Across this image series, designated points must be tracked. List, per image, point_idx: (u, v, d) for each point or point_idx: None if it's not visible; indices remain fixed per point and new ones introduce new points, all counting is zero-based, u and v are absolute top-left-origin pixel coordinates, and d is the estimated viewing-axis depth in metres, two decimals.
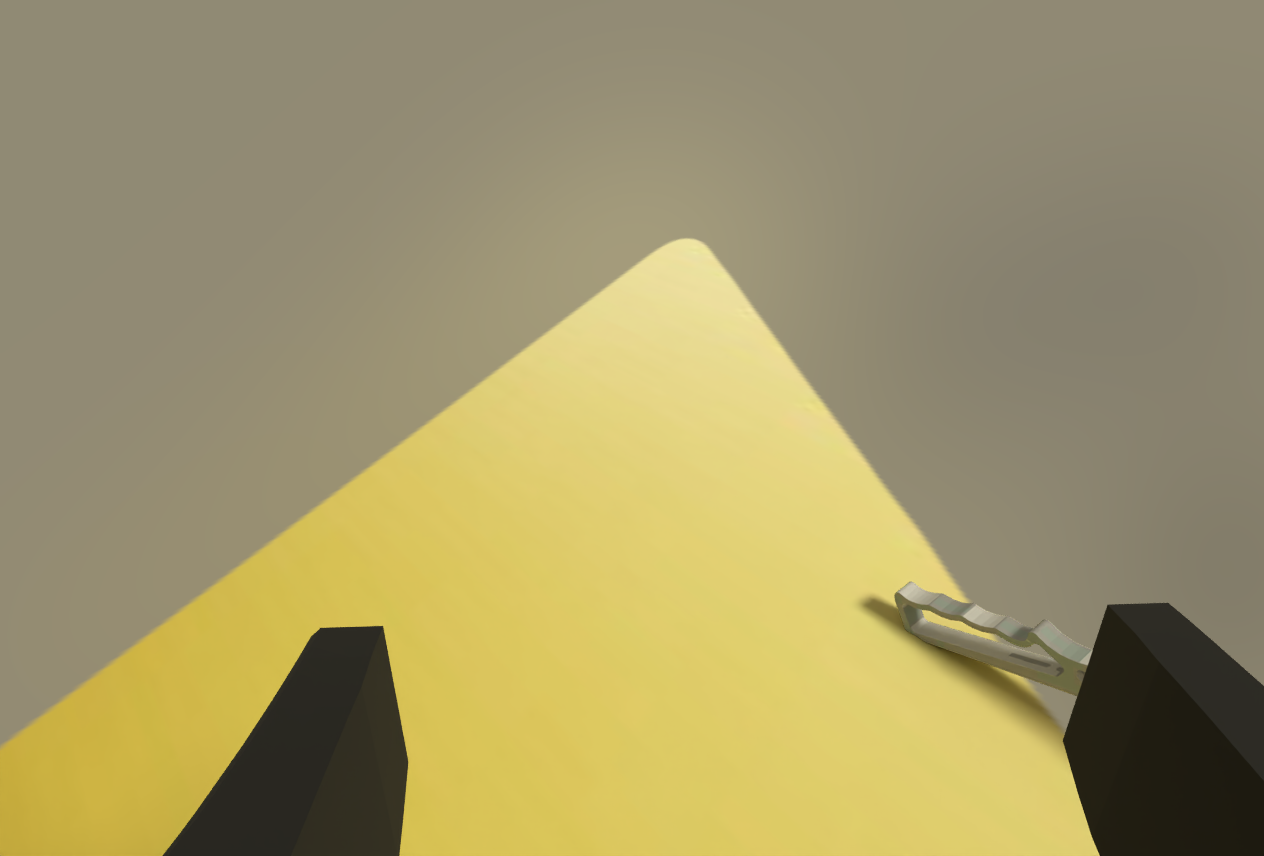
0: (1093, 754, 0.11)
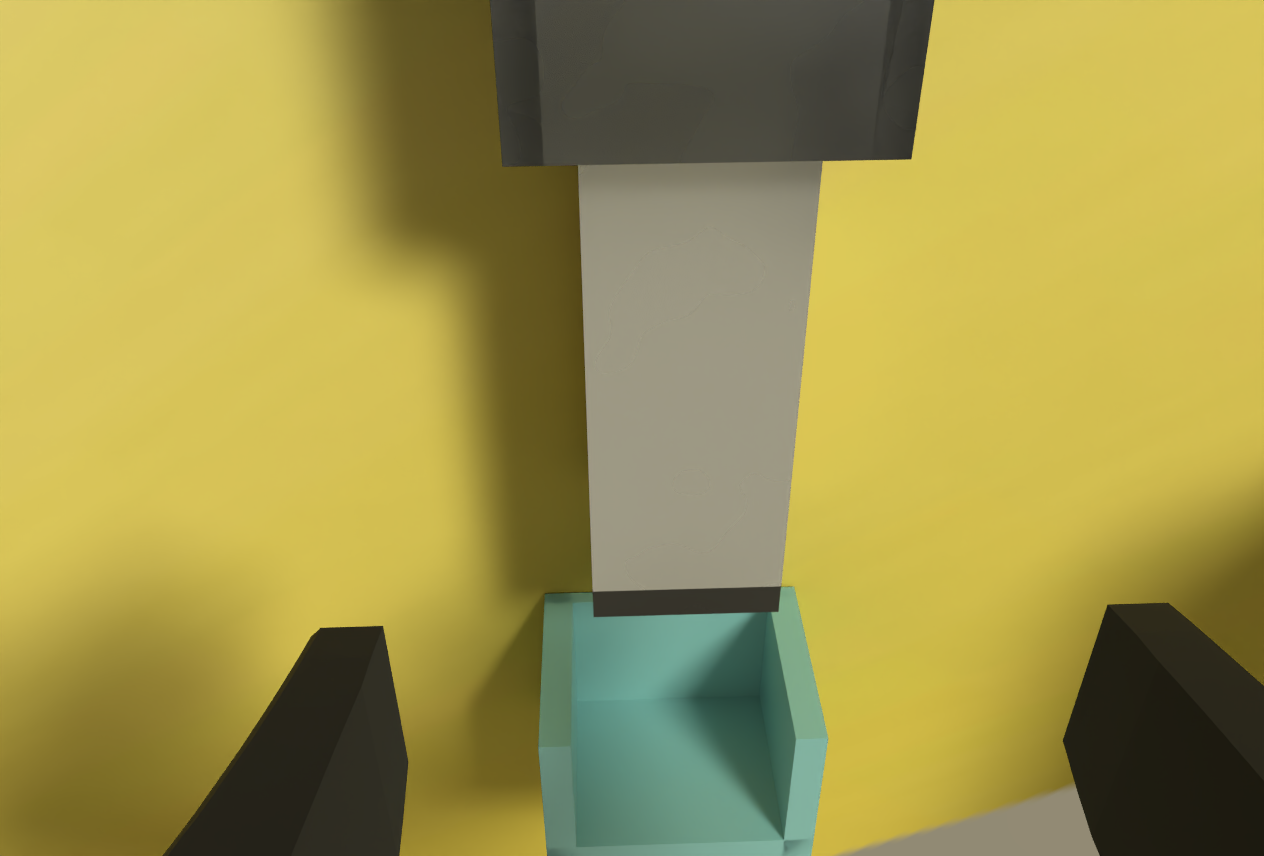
0: (1093, 754, 0.11)
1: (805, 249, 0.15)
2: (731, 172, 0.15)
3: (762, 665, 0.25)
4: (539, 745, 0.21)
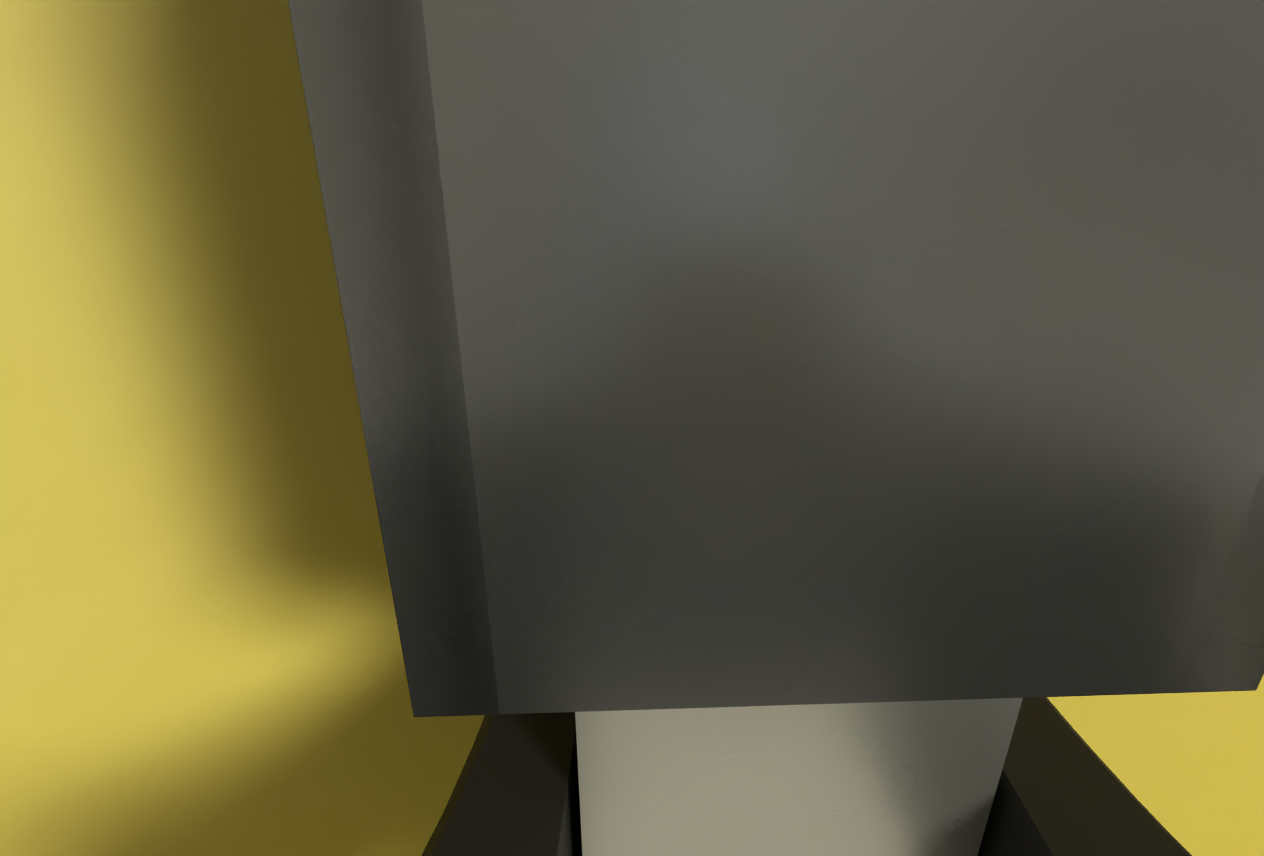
0: None
1: (993, 751, 0.08)
2: None
3: None
4: None
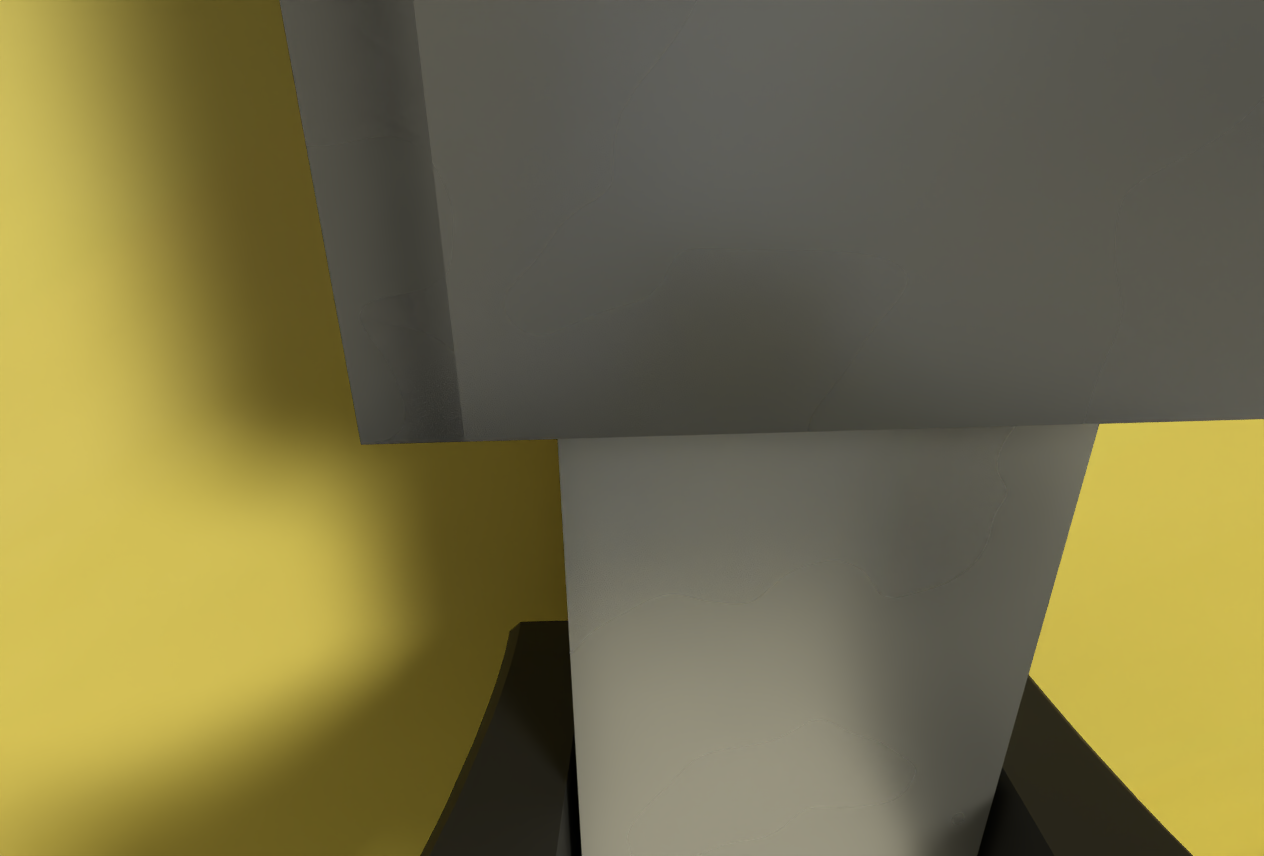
0: None
1: (995, 745, 0.08)
2: (864, 641, 0.08)
3: None
4: None
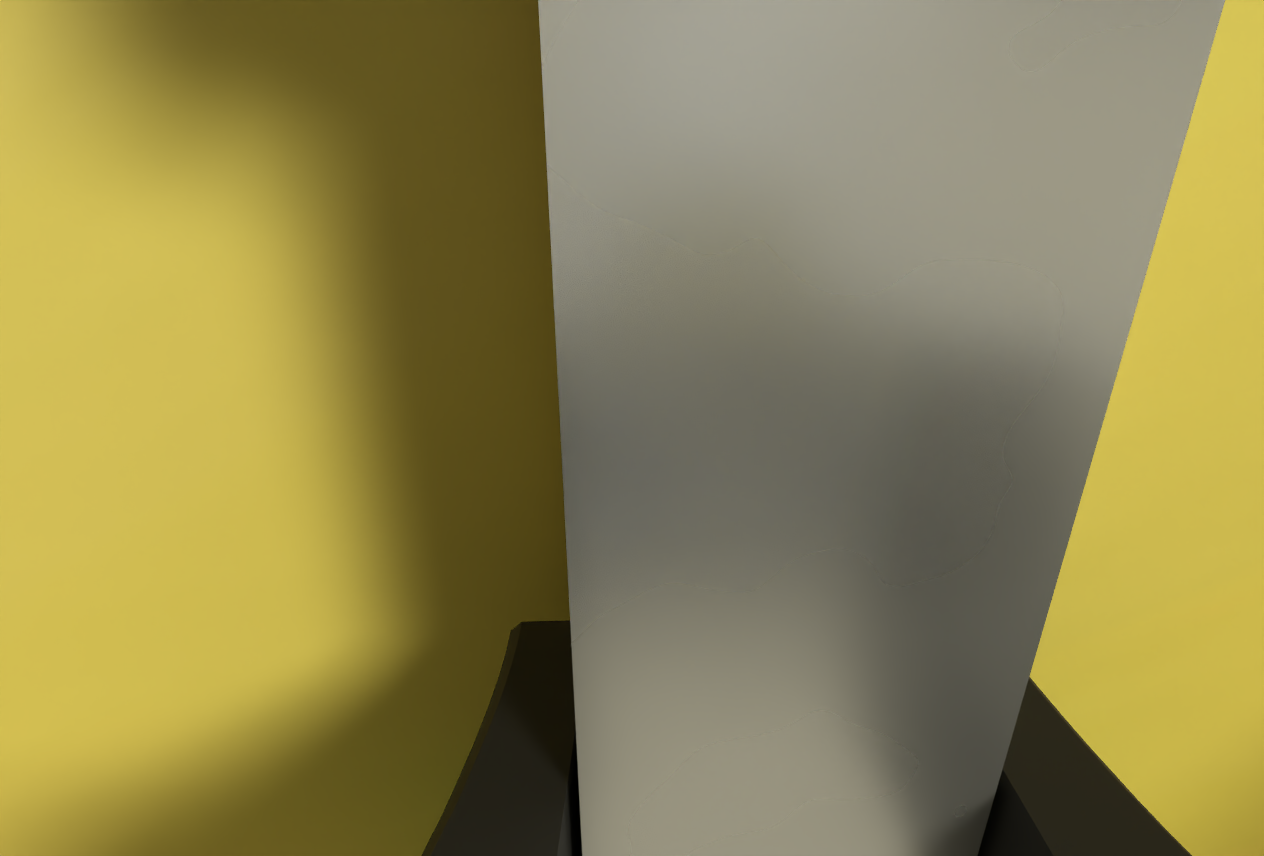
0: None
1: (997, 736, 0.08)
2: (869, 630, 0.07)
3: None
4: None
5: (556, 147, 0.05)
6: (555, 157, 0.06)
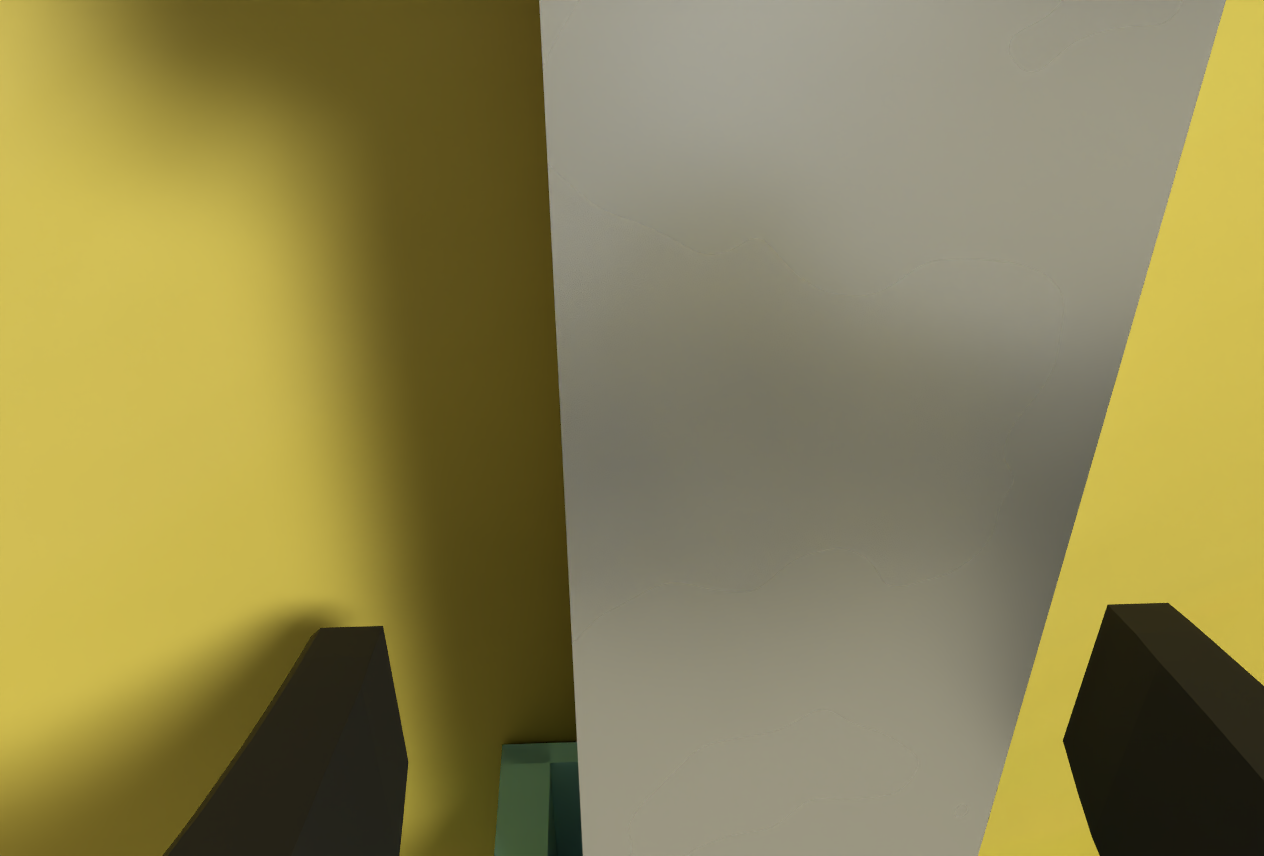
0: (1093, 754, 0.11)
1: (997, 737, 0.08)
2: (869, 630, 0.07)
3: None
4: None
5: (557, 147, 0.05)
6: (556, 157, 0.06)
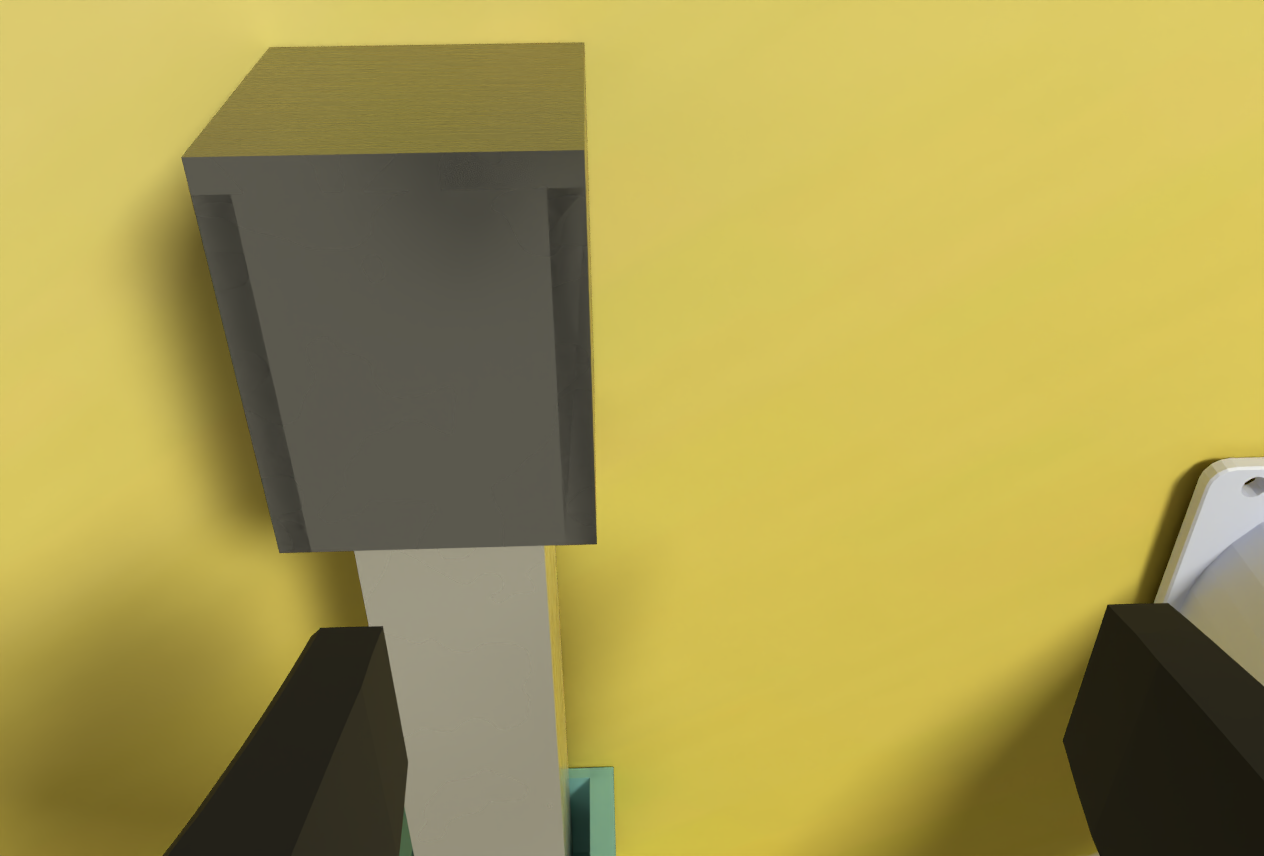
0: (1093, 754, 0.11)
1: (554, 779, 0.22)
2: (495, 743, 0.22)
3: None
4: None
5: (370, 619, 0.20)
6: (370, 621, 0.20)
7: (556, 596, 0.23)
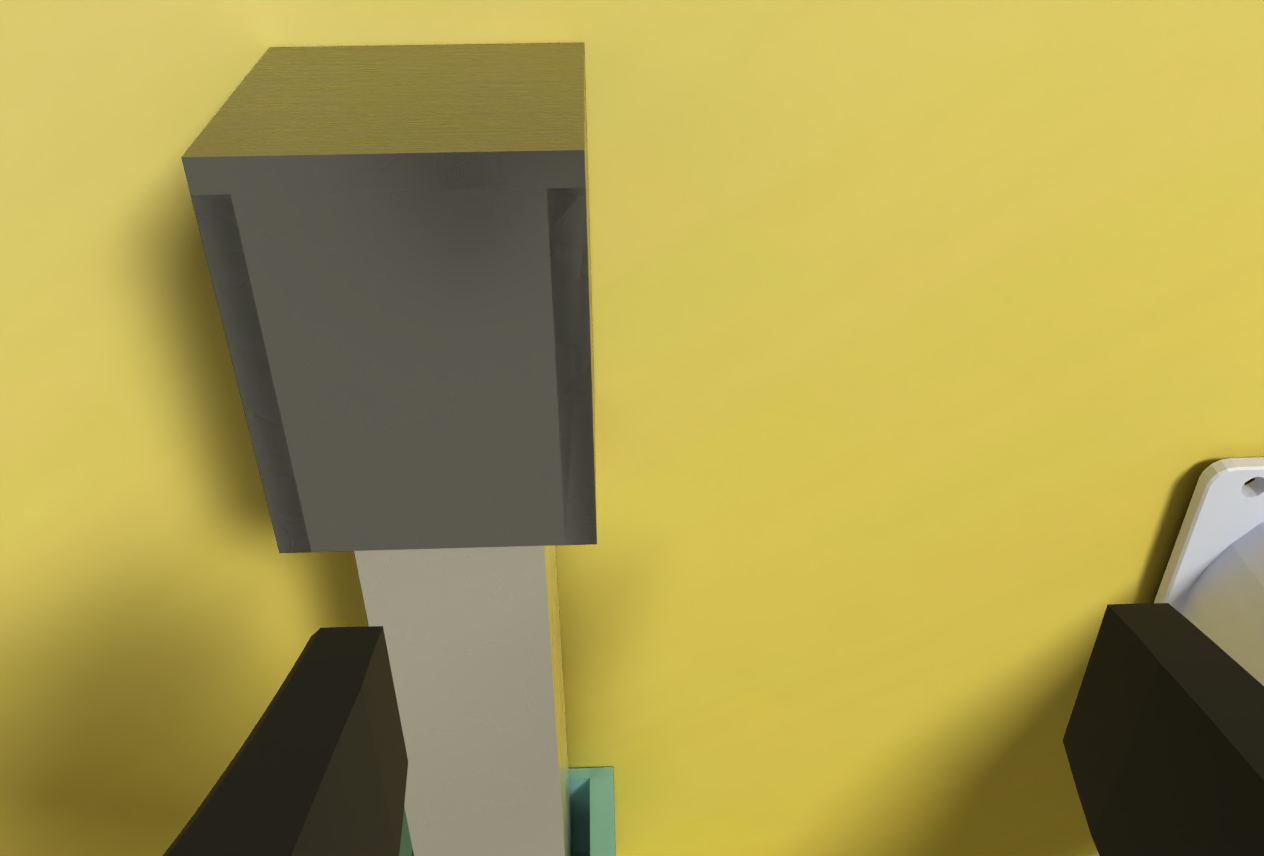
0: (1093, 754, 0.11)
1: (554, 779, 0.22)
2: (495, 743, 0.22)
3: None
4: None
5: (370, 619, 0.20)
6: (370, 621, 0.20)
7: (556, 596, 0.23)
